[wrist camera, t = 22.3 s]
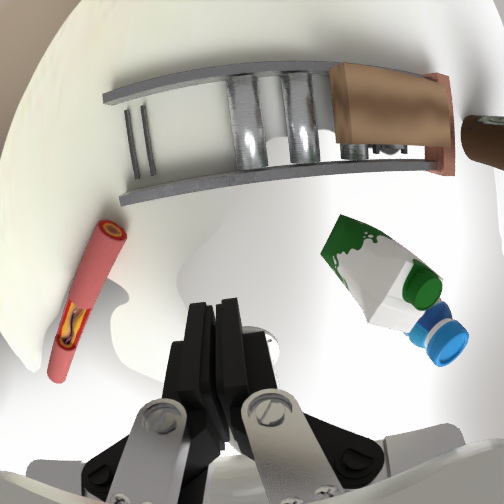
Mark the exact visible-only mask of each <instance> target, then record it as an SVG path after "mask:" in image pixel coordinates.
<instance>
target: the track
mask: <svg viewBox="0 0 504 504" xmlns="http://www.w3.org/2000/svg"><path fill="white" fill-rule="evenodd" d="M339 64H341V63H339V62H322V61H271V62H254V63H242V64H232V65H224V66H216V67H209V68H203V69H197V70H191V71H186V72H181V73H176V74H171V75H167V76H162V77H158V78H154V79H150V80H146V81H142V82H139V83H135V84H132V85H128V86H125V87H122V88H119V89H116V90H113V91H110V92H107V93H104V94H103V103H104V104H108V105H116V104H119V103H122V102H125V101H129V100H132V99H136V98H139V97H143V96H147V95H151V94H155V93H159V92H163V91H168V90H172V89H177V88H182V87H187V86H192V85H198V84H204V83H210V82H217V81H225V80H227V79H229V78H231V77H235V76H242V75H254V76H257V77H267V76H282V75H284V74H288V73H298V72H302V73H309V74H311V75H319V76H329V72H328V69H330V68H332V67H334V66H337V65H339ZM359 65H360V64H359ZM365 66H369V65H365ZM371 67H376V66H371ZM377 68H382V69H387V70H392V71H396V72H401V73H405V74H409V75H413V76H417V77H420V78H424V79H427V80H431V81H434V82H437V83H441V84H444V85H446V89H447V97H448V107H449V119H450V138H451V148H446V147H433V146H425V159H379V160H377V159H376V160H349V161H331V162H317V163H304V164H294V165H284V166H274V167H265V168H257V169H249V170H241V171H234V172H227V173H221V174H214V175H208V176H202V177H196V178H191V179H185V180H180V181H174V182H169V183H164V184H159V185H154V186H150V187H145V188H141V189H136V190H132V191H127V192H125V193H123V194H122V195H120V196H119V200H120V204H121V206H125V205H130V204H134V203H139V202H144V201H149V200H153V199H158V198H164V197H169V196H174V195H179V194H185V193H191V192H196V191H202V190H208V189H215V188H221V187H228V186H234V185H241V184H249V183H256V182H263V181H272V180H280V179H290V178H299V177H309V176H320V175H333V174H346V173H362V172H381V171H417V170H425V171H428V172H432V173H435V174H439V175H442V176H455V133H454V116H453V105H452V96H451V88H450V81H449V76H446V75H443V74H440V73H431V74H425V75H419V74H415V73H410V72H405V71H400V70H395V69H389V68H383V67H377ZM124 112H125V120H126V127H127V134H128V141H129V147H130V153H131V159H132V165H133V170H134V175H135V180H136V179H139V178H140V176H139V170H138V165H137V159H136V153H135V147H134V141H133V134H132V127H131V120H130V112H129V110H125V111H124ZM141 114H142V121H143V128H144V135H145V142H146V148H147V154H148V160H149V166H150V171H151V176H154V175H156V173H155V167H154V162H153V156H152V150H151V143H150V137H149V130H148V123H147V116H146V108H145V106H144V105H142V106H141ZM406 148H407V145H406ZM373 153H375V154H379V144H373ZM401 153H403V154H407V149H401Z"/></svg>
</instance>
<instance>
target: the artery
mask: <svg viewBox="0 0 504 504" xmlns="http://www.w3.org/2000/svg"><path fill="white" fill-rule="evenodd" d="M126 239H127V234H126V232H125V231H124V229H123V228H121V227H120V226H118V225H117V224H115V223H113V222H112V221H109V220H101V221H99V222H98V223H97V225H96V228H95V230H94V232H93V234H92V236H91V238H90V241H89V243H88V245H87V248H86V250H85V252H84V255H83V257H82V259H81V262H80V264H79V267H78V269H77V272H76V275H75V277H74V280H73V283H72V285H71V288H70V291H69V296H68V299H67V302H66V305H65V308H64V311H63V315H62V318H61V322H60V325H59V328H58V332H57V334H56V336H55V340H54V343H53V347H52V351H51V356H50V360H49V364H48V369H47V374H48V377H49V379H51V380H52V381H53V382H55V383H63V382H64V381H65V379H66V376H67V373H68V370H69V367H70V364H71V361H72V359H73V356H74V353H75V351H76V348H77V345H78V342H79V340H80V337H81V335H82V332H83V330H84V327H85V325H86V322H87V320H88V318H89V315H90V313H91V311H92V308H93V306H94V304H95V302H96V299H97V297H98V295H99V293H100V291H101V288H102V286H103V284H104V282H105V280H106V278H107V276H108V274H109V272H110V270H111V268H112V266H113V264H114V262H115V260H116V258H117V256H118V254H119V252H120V250H121V249H122V247H123V245H124V243H125V241H126Z"/></svg>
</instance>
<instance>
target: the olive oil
mask: <svg viewBox="0 0 504 504" xmlns="http://www.w3.org/2000/svg"><path fill="white" fill-rule="evenodd" d="M461 142H462V147H463V149H464V152H465V154H466V155H467V156H468V158H469V159H471V160H473V161H476V162H480V163H483V164H486V165H490V166H492V167H495V168H498V169H501V170H503V171H504V117H499V116H476V115H470V116H467V117H466V118H465V119H464V121H463V123H462V127H461Z"/></svg>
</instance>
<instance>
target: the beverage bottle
mask: <svg viewBox="0 0 504 504" xmlns="http://www.w3.org/2000/svg"><path fill="white" fill-rule="evenodd" d="M403 333H404V334H405V335H406V336H409V339H410V341H411V342H412V343H413V344H415V345H416V346H418V347H422V348H425V349H426V352H427V354H428V356H429V357H430V359H431V360H432V361H433V363H434V364H435V365H437V366H438V367H443V366H446V365H448V364H449V363H451V362H452V361H453V360H454V359H455V358H457V356H459V354H460V353H461V352H462V351H463V349H464V348H465V346H466V344H467V342H468V338H469V334H468V332H467V330H466V329H465V328H464V327H463V326H462V325H461V324H460V323H459V322H458V321H456V320H452V315H451V311H450V309H449V307H448V305H447V304H446V303H445V302H443V301H441V299H440V297H439V299H438V300H437V302H436V303H435V304H434V305H433V306H432V307H431V308H429V309H427V310H426V311H425V313H424V314H423V316H422V317H420V318H419V319H418V321H417V322H416V324H415V325H414V327H413V328H412V329H411V331H410V332H409V333H406V332H403Z"/></svg>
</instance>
